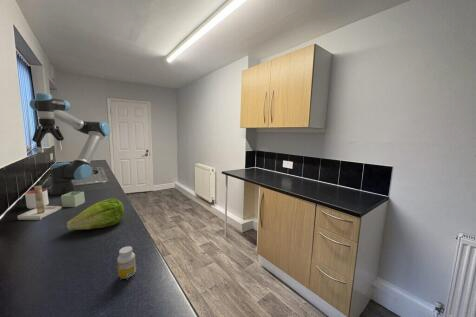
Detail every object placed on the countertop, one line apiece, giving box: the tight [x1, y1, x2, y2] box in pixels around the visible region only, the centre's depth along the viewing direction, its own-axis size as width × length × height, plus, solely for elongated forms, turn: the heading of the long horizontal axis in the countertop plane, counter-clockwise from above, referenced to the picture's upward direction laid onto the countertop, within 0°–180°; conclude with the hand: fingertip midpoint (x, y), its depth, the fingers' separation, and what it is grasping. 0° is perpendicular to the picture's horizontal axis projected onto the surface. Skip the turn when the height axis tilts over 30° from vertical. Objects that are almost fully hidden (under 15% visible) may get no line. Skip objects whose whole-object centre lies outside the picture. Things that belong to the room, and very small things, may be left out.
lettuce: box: [66, 198, 125, 231], centre depth 103 cm, size 14×24×15 cm
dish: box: [17, 205, 63, 221], centre depth 117 cm, size 14×12×2 cm
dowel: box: [33, 185, 45, 214], centre depth 116 cm, size 3×3×16 cm
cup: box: [24, 188, 49, 210], centre depth 128 cm, size 10×10×10 cm
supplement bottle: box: [117, 245, 137, 278], centre depth 70 cm, size 5×5×10 cm
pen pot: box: [60, 191, 86, 208], centre depth 131 cm, size 8×8×8 cm
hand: (50, 151), depth 133 cm, fingers open, 13 cm apart
